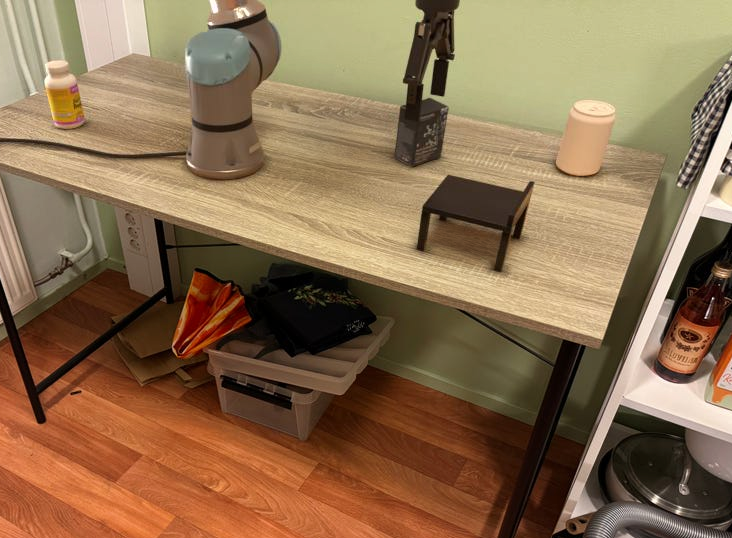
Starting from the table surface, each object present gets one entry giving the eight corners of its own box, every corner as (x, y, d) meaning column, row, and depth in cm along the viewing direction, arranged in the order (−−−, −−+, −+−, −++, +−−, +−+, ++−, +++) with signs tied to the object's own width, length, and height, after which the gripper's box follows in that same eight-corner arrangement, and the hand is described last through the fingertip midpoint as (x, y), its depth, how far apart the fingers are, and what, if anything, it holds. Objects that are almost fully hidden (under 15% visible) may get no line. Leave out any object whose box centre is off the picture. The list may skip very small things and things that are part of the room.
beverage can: (550, 159, 135) (566, 99, 127) (591, 159, 135) (609, 99, 127) (561, 178, 129) (578, 116, 121) (604, 178, 129) (624, 116, 121)
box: (412, 168, 133) (418, 114, 126) (393, 157, 137) (398, 105, 129) (441, 158, 136) (449, 105, 129) (422, 148, 140) (429, 96, 133)
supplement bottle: (81, 130, 148) (68, 69, 139) (51, 130, 148) (36, 69, 140) (88, 117, 153) (76, 58, 144) (59, 118, 153) (45, 58, 145)
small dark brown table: (416, 249, 111) (424, 193, 104) (441, 216, 119) (449, 163, 112) (500, 272, 106) (514, 215, 99) (521, 236, 114) (534, 181, 107)
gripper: (435, 3, 106) (420, 134, 120) (483, -31, 122) (464, 88, 136) (390, -3, 109) (381, 127, 123) (443, -35, 125) (429, 82, 139)
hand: (425, 107), depth 129 cm, fingers open, 13 cm apart
